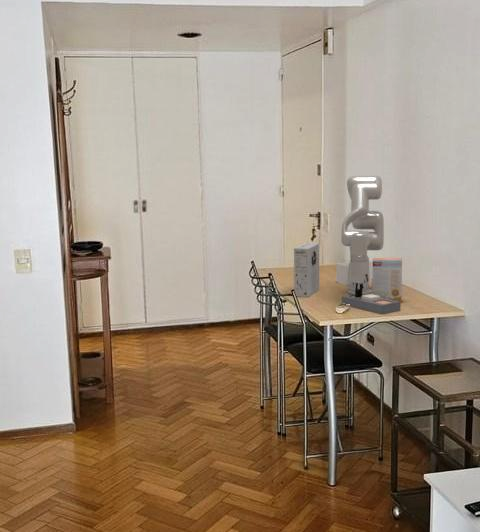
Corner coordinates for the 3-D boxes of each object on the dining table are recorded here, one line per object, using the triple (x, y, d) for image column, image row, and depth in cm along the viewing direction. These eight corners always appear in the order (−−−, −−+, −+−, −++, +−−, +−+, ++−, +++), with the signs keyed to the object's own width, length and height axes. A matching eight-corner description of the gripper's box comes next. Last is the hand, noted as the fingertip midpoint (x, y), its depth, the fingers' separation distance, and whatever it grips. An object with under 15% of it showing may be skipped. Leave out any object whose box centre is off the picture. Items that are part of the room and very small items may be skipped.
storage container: (375, 279, 397) (375, 260, 395) (385, 282, 387) (386, 262, 385) (336, 282, 388) (336, 263, 386) (346, 286, 378) (346, 266, 376)
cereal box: (305, 288, 373) (305, 242, 369) (319, 289, 370) (319, 242, 366) (294, 296, 353) (293, 247, 349) (308, 297, 350) (308, 248, 346)
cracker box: (401, 300, 340) (402, 257, 336) (401, 302, 334) (402, 259, 330) (372, 299, 343) (372, 257, 339) (371, 301, 337) (372, 259, 334)
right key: (373, 307, 319) (373, 302, 319) (383, 305, 323) (383, 300, 322) (383, 309, 315) (383, 304, 314) (392, 308, 318) (392, 302, 318)
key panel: (342, 304, 333) (342, 296, 332) (360, 301, 339) (360, 293, 339) (381, 314, 311) (381, 305, 311) (400, 310, 318) (400, 301, 318)
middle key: (361, 300, 326) (361, 295, 325) (370, 299, 329) (370, 294, 329) (370, 303, 321) (370, 297, 320) (379, 301, 324) (380, 296, 324)
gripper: (342, 258, 332) (342, 295, 335) (364, 261, 320) (364, 300, 323) (353, 256, 336) (353, 293, 339) (376, 259, 324) (375, 298, 327)
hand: (358, 296), depth 331 cm, fingers closed
